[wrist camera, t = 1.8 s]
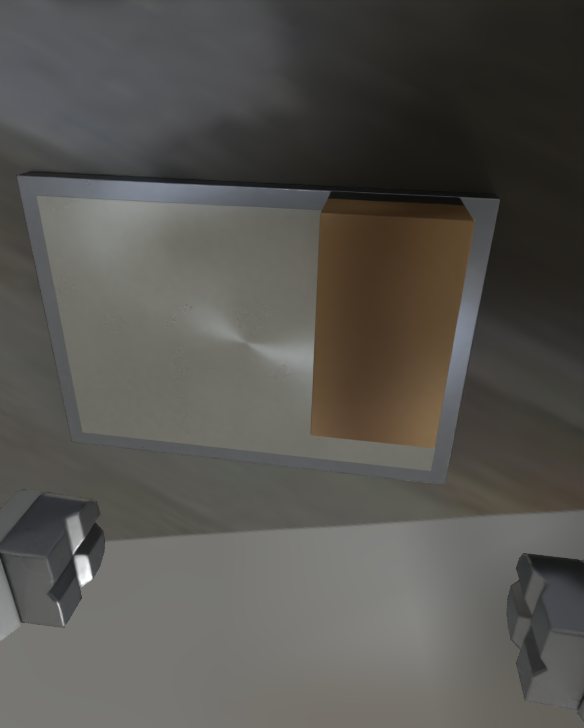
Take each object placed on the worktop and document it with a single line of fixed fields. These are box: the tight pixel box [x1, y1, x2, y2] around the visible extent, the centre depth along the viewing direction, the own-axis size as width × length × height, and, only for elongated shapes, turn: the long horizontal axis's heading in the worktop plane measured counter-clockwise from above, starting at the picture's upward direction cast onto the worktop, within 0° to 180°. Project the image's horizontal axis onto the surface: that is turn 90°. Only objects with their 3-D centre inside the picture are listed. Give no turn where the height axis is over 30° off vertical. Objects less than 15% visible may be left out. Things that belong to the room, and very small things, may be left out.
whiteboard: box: [17, 172, 500, 484], centre depth 26 cm, size 20×14×1 cm
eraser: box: [310, 191, 475, 448], centre depth 21 cm, size 5×9×4 cm, turn 179°
